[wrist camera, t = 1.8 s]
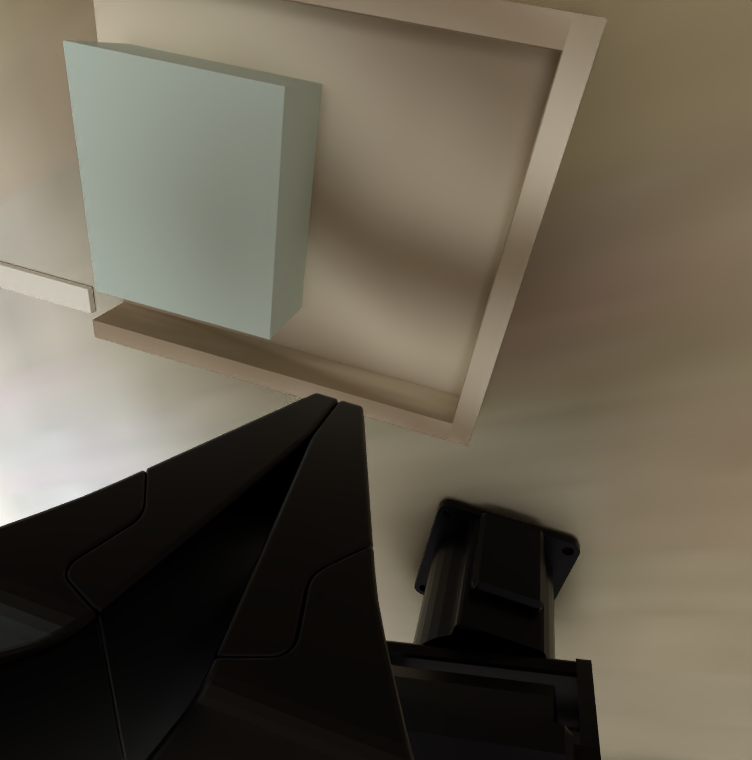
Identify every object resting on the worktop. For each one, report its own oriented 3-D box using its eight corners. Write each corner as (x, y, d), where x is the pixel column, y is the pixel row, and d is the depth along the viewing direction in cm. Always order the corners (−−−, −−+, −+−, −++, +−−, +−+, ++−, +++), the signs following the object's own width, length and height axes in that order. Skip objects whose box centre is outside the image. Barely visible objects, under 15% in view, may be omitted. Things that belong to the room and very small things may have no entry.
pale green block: (301, 307, 22) (269, 339, 19) (145, 265, 23) (95, 290, 20) (321, 83, 17) (284, 86, 15) (128, 43, 18) (62, 40, 16)
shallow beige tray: (474, 410, 22) (468, 446, 20) (132, 314, 25) (95, 337, 23) (598, 24, 15) (607, 18, 13) (97, -64, 17) (36, -82, 15)
